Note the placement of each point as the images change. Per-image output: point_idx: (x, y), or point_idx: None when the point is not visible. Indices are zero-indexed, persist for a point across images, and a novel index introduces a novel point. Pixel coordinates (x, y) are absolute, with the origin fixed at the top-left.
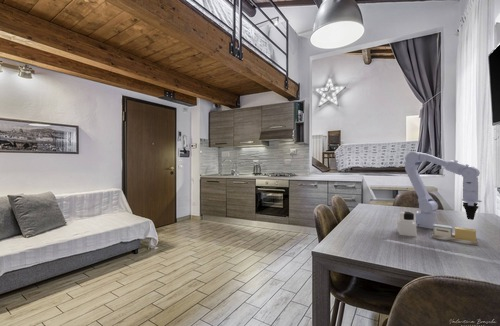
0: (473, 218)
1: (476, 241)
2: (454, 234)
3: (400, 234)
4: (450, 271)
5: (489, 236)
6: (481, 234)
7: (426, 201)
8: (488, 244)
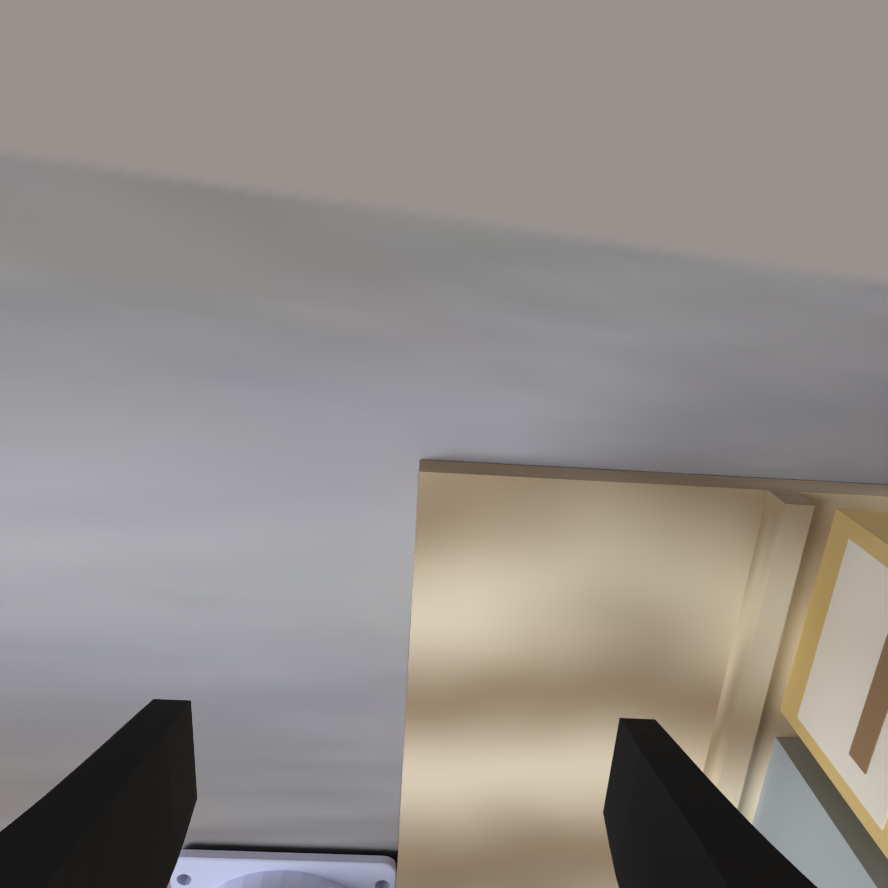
0: (679, 749)
1: (825, 498)
2: (558, 711)
3: None
4: None
5: (166, 260)
6: (107, 360)
7: None
8: (756, 347)
